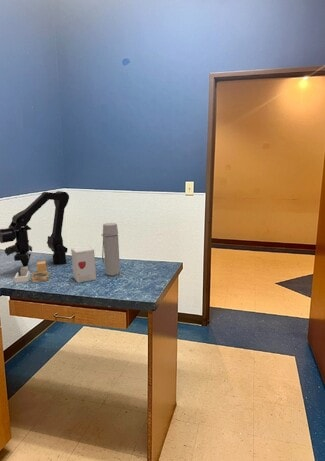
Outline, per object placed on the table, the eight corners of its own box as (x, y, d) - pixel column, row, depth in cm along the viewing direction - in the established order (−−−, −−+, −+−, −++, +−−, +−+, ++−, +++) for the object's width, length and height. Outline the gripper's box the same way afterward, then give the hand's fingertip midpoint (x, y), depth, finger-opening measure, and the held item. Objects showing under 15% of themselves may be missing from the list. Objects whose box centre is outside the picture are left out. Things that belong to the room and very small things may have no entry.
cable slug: (28, 272, 170) (27, 266, 169) (27, 275, 165) (26, 269, 164) (22, 273, 169) (21, 266, 168) (20, 276, 164) (20, 269, 163)
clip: (30, 275, 164) (29, 271, 164) (28, 281, 157) (27, 276, 156) (17, 277, 163) (16, 272, 162) (14, 282, 155) (14, 277, 155)
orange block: (46, 270, 172) (45, 261, 171) (46, 273, 168) (45, 263, 167) (38, 271, 171) (37, 261, 170) (37, 273, 167) (36, 264, 166)
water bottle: (123, 272, 167) (120, 223, 161) (114, 277, 160) (111, 226, 154) (108, 269, 170) (105, 222, 165) (99, 274, 163) (95, 225, 158)
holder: (49, 275, 165) (49, 271, 164) (48, 280, 157) (47, 276, 157) (33, 276, 163) (32, 273, 162) (31, 282, 155) (30, 278, 155)
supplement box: (77, 283, 153) (74, 252, 150) (73, 277, 161) (70, 247, 158) (96, 279, 157) (94, 249, 154) (91, 274, 165) (89, 244, 162)
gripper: (8, 236, 174) (11, 265, 178) (0, 245, 157) (4, 276, 160) (30, 235, 177) (33, 263, 180) (26, 243, 159) (29, 274, 163)
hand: (25, 268), depth 171 cm, fingers closed
